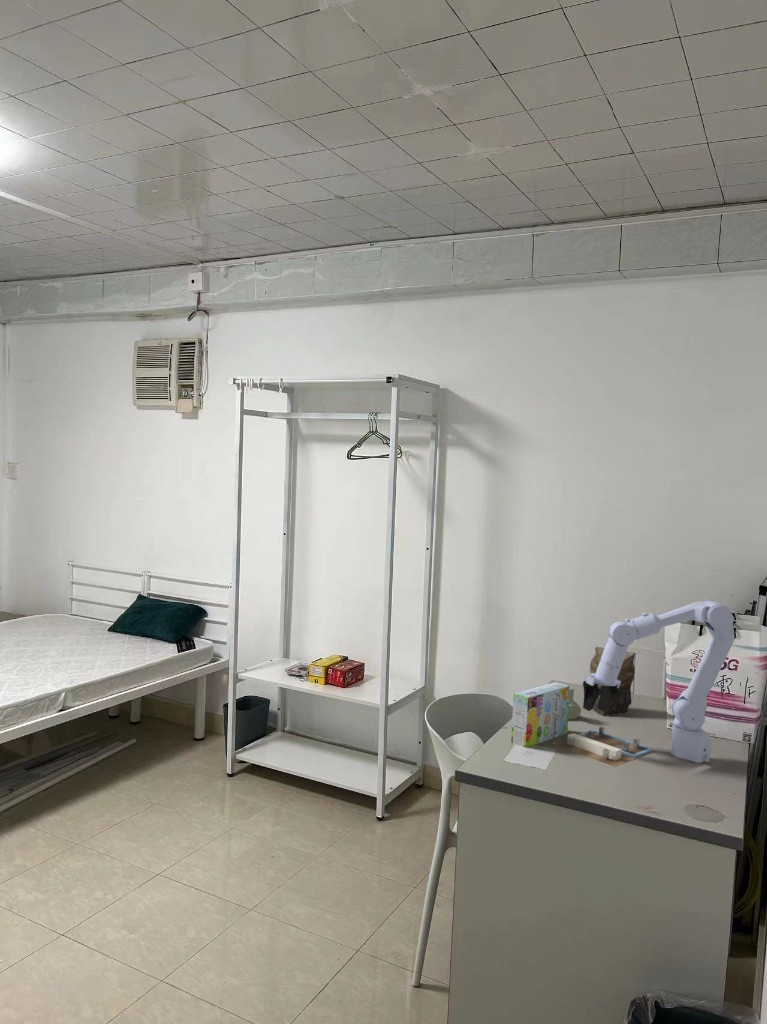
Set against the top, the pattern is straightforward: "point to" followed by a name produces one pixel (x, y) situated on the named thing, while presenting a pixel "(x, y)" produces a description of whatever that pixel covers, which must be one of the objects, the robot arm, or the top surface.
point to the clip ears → (602, 734)
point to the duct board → (595, 756)
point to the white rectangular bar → (595, 746)
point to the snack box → (540, 714)
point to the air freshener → (573, 706)
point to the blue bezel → (629, 743)
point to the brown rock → (626, 678)
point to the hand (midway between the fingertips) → (593, 709)
